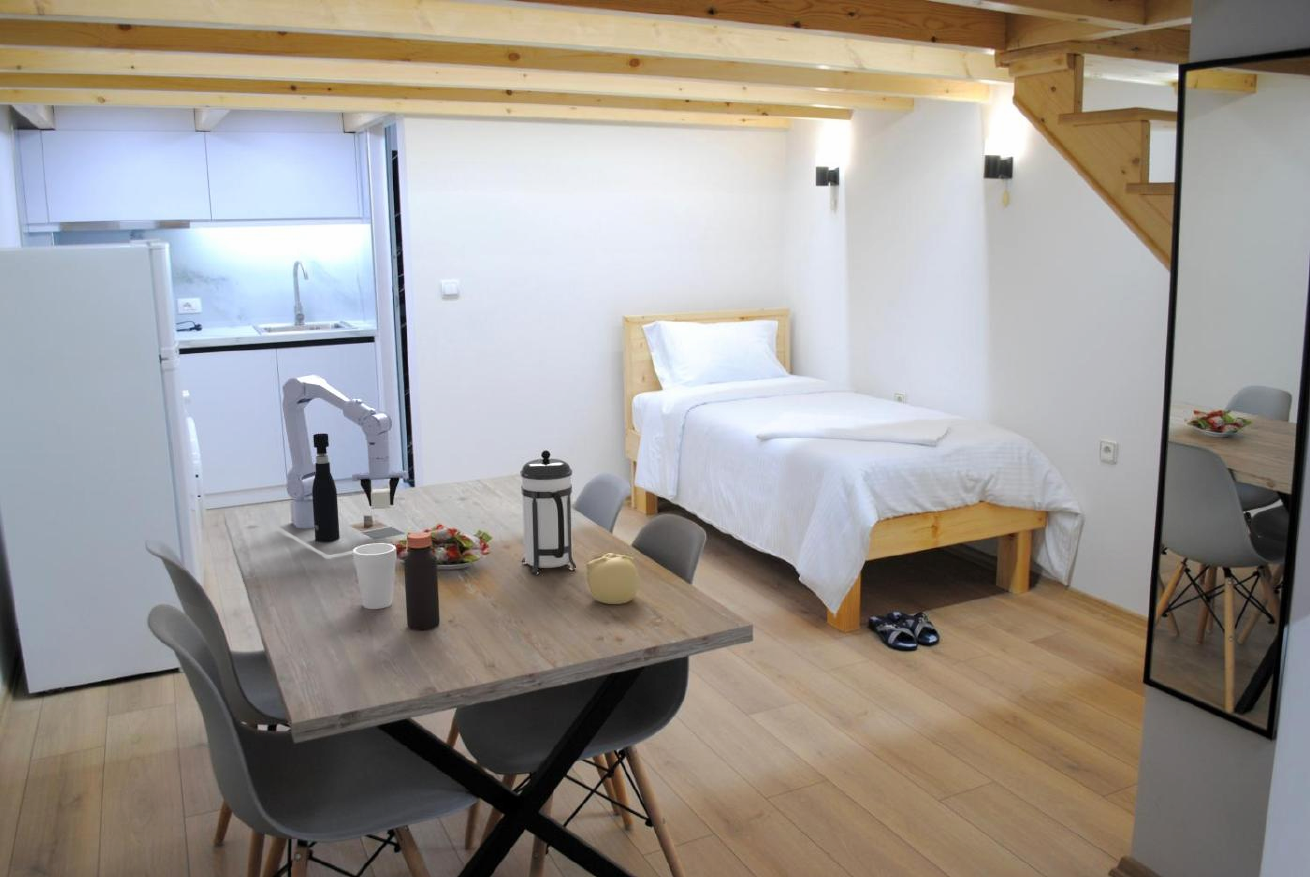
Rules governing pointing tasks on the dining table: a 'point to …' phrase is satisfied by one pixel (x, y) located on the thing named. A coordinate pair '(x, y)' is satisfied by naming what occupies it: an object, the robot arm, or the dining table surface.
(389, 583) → the foam cup
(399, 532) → the mat
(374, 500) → the white block
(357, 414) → the robot arm
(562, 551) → the coffee press
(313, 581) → the dining table surface
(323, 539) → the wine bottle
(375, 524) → the pin stand
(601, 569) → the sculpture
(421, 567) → the dark brown water bottle
